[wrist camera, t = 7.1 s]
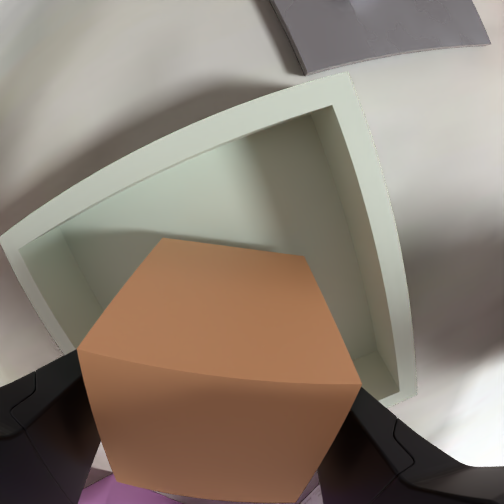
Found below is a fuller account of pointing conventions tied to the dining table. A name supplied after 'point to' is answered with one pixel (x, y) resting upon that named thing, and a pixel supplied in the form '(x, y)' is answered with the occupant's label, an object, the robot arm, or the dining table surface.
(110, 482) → the lilac knobbed box
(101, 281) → the tray
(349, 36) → the stud plate
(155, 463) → the terracotta orange cube
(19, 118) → the dining table surface
